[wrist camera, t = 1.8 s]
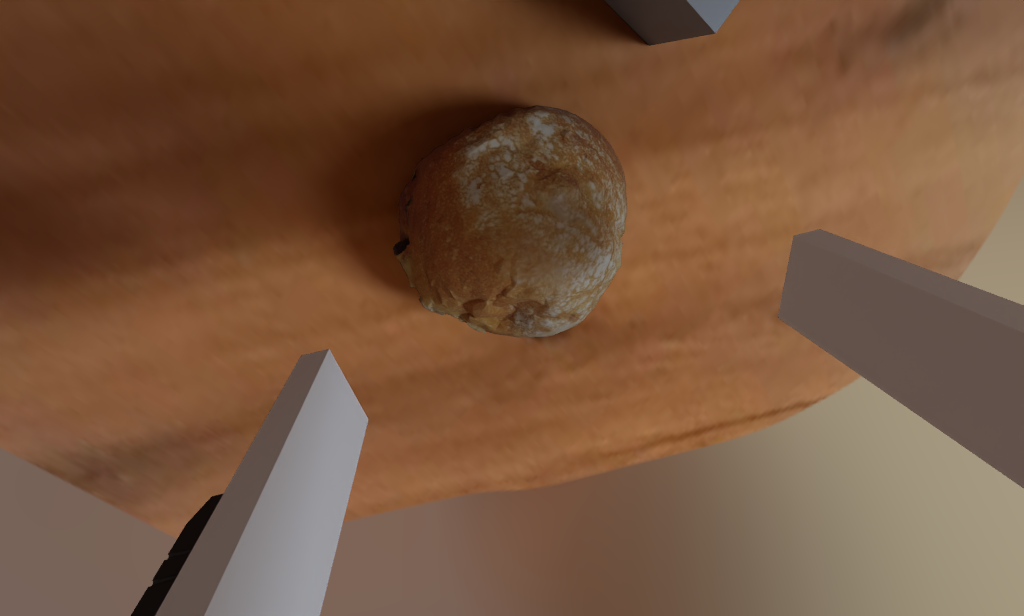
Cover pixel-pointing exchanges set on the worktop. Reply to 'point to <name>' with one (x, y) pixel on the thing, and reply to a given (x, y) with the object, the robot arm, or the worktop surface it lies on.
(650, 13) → the bread tray
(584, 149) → the bread roll
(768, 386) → the worktop surface
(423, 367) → the worktop surface
